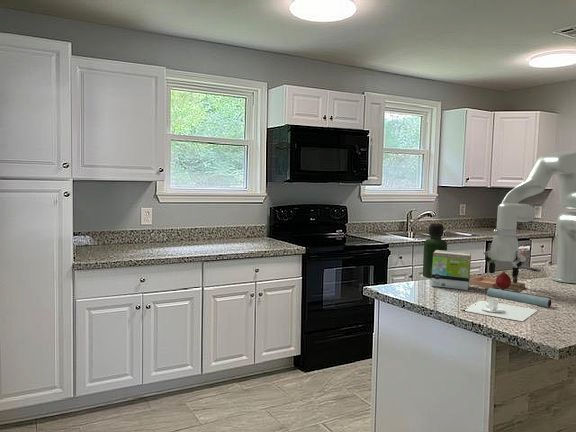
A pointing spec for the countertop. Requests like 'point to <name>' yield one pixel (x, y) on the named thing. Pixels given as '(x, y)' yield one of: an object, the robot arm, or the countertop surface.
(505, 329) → the countertop surface
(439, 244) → the green bottle
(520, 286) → the tan frame with plate
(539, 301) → the aluminum foil
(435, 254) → the tea box
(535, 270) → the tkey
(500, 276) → the onion
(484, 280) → the dish
